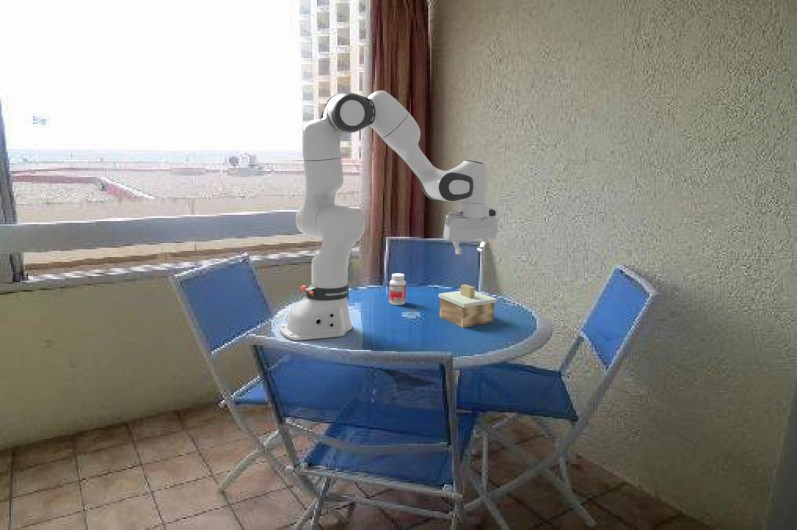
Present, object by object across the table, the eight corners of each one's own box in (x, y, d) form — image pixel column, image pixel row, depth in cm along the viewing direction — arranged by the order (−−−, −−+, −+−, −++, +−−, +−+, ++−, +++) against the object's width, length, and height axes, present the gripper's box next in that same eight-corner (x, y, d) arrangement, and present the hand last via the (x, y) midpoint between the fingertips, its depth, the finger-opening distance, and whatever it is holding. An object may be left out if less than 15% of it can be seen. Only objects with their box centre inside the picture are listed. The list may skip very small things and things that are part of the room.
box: (462, 327, 166) (463, 306, 165) (439, 316, 177) (440, 297, 175) (493, 322, 173) (494, 302, 171) (469, 311, 183) (470, 293, 182)
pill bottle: (398, 300, 196) (399, 272, 194) (408, 303, 192) (409, 275, 190) (385, 302, 193) (386, 274, 190) (396, 306, 188) (396, 277, 186)
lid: (463, 307, 164) (464, 293, 163) (438, 297, 176) (438, 283, 175) (496, 302, 171) (497, 288, 170) (470, 292, 183) (471, 279, 182)
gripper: (452, 213, 159) (450, 256, 162) (501, 211, 170) (499, 252, 172) (440, 211, 165) (438, 253, 167) (489, 209, 175) (486, 249, 178)
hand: (469, 252), depth 170 cm, fingers open, 8 cm apart
